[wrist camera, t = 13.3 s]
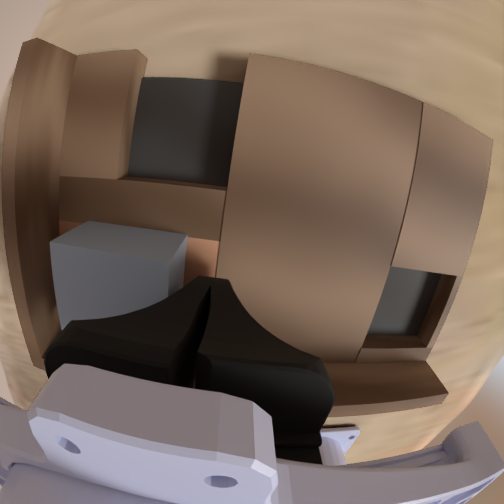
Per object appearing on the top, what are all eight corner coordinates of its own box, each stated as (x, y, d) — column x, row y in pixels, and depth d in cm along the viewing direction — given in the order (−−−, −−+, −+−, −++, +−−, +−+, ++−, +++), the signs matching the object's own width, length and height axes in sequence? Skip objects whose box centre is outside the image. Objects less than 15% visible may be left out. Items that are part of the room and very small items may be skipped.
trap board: (410, 356, 16) (441, 403, 11) (72, 319, 14) (33, 365, 10) (475, 138, 11) (534, 143, 7) (78, 64, 10) (22, 42, 5)
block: (180, 328, 13) (167, 372, 10) (93, 311, 12) (65, 346, 10) (187, 234, 11) (169, 262, 8) (88, 220, 11) (49, 241, 8)
